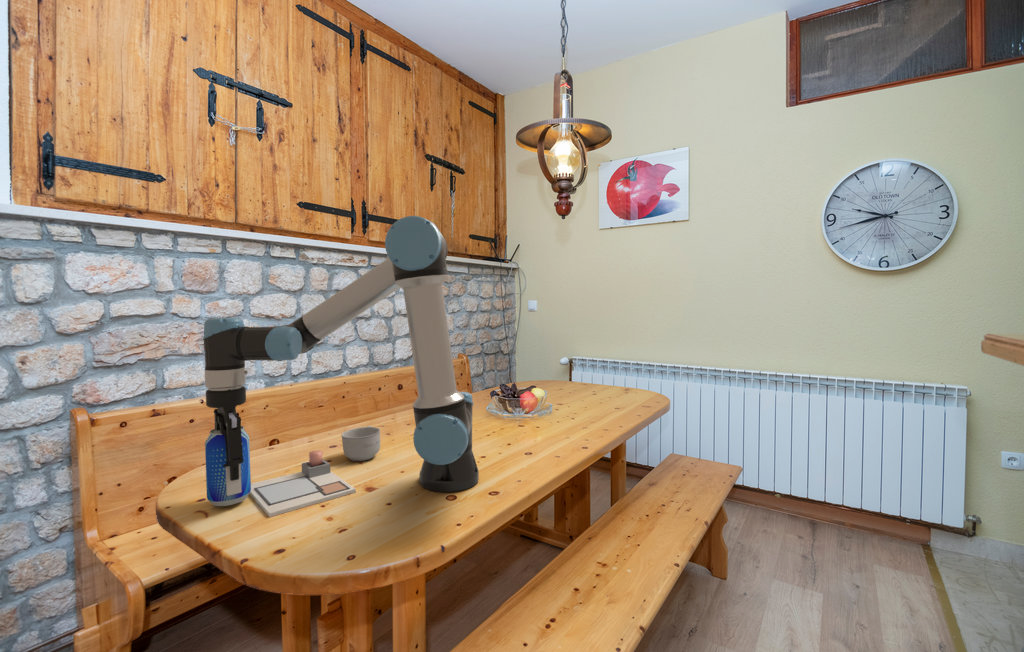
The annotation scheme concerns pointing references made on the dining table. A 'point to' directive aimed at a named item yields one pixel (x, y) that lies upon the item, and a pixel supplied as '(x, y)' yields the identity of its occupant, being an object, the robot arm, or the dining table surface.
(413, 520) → the dining table surface
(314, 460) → the button
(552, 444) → the dining table surface
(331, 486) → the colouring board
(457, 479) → the robot arm
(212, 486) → the beer can
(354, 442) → the teacup
